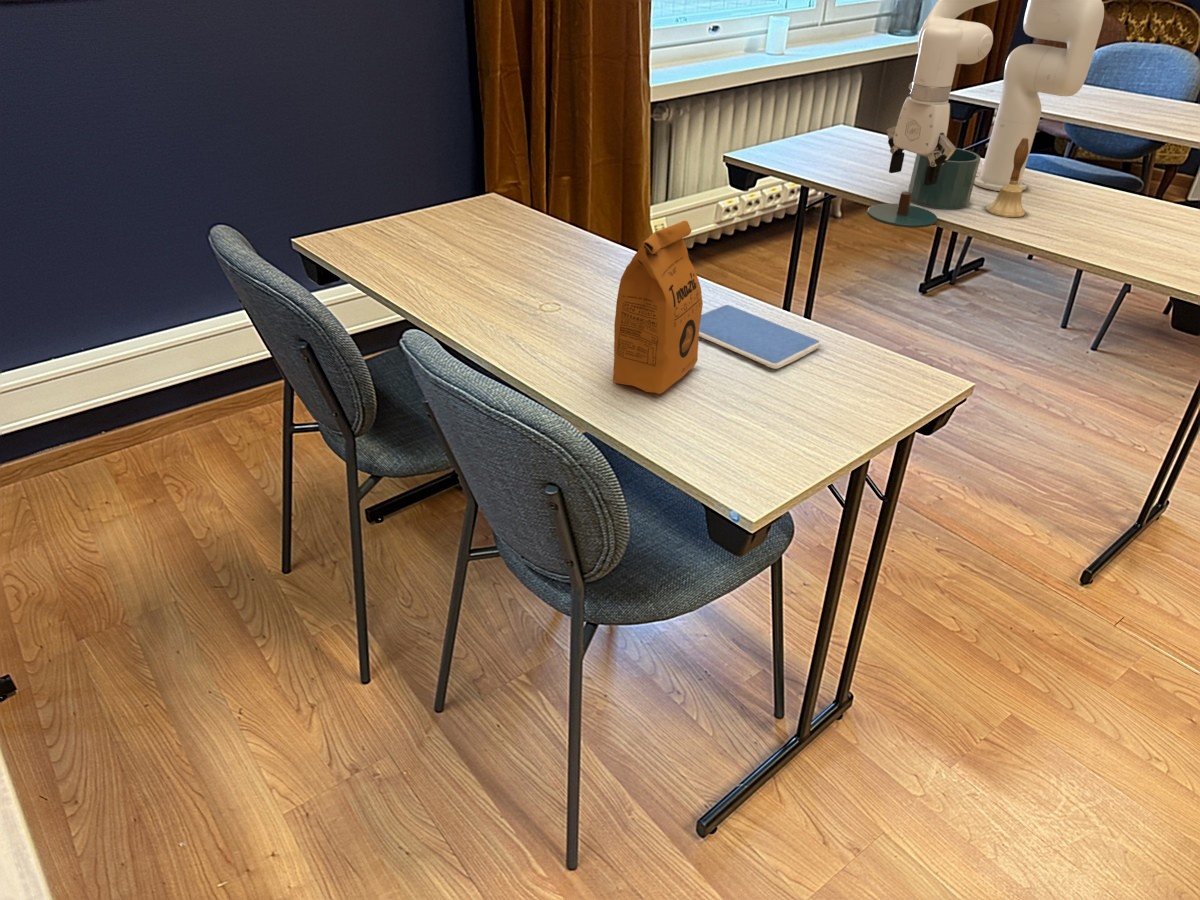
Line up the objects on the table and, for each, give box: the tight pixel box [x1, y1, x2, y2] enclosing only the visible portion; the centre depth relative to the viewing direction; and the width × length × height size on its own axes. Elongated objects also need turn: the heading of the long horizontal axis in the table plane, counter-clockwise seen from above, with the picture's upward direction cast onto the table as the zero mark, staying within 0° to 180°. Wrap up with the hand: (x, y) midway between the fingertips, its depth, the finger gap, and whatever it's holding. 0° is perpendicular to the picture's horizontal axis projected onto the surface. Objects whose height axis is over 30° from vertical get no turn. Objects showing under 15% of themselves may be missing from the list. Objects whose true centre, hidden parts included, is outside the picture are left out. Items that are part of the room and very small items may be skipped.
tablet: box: [699, 304, 822, 369], centre depth 135 cm, size 19×13×1 cm, turn 44°
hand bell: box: [985, 138, 1029, 218], centre depth 190 cm, size 8×8×16 cm
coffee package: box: [612, 220, 704, 394], centre depth 119 cm, size 10×12×22 cm
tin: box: [907, 147, 981, 210], centre depth 198 cm, size 14×14×10 cm
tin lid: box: [866, 191, 938, 229], centre depth 186 cm, size 15×15×6 cm
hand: (911, 178), depth 183 cm, fingers open, 9 cm apart
